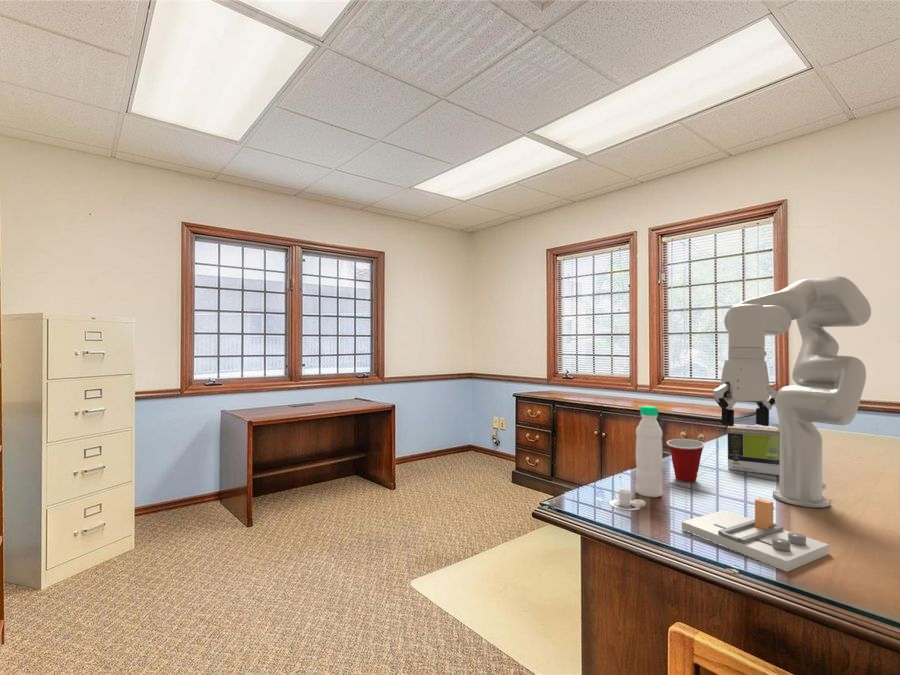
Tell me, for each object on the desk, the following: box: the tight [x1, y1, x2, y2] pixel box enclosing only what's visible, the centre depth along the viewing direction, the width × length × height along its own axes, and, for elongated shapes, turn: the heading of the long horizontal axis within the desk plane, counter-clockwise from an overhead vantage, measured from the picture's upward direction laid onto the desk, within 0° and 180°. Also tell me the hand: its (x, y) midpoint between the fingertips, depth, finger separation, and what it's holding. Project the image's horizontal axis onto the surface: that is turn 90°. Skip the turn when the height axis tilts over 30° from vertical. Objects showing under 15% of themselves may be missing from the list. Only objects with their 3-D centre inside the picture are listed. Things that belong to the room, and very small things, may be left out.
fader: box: [754, 497, 774, 530], centre depth 105 cm, size 2×3×6 cm
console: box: [681, 509, 830, 573], centre depth 103 cm, size 16×22×4 cm
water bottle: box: [635, 405, 663, 498], centre depth 134 cm, size 7×7×25 cm
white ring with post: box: [608, 489, 647, 511], centre depth 125 cm, size 9×8×4 cm
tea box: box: [726, 423, 780, 476], centre depth 161 cm, size 15×10×15 cm
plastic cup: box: [666, 438, 705, 483], centre depth 148 cm, size 11×11×12 cm
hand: (745, 425), depth 114 cm, fingers open, 9 cm apart
